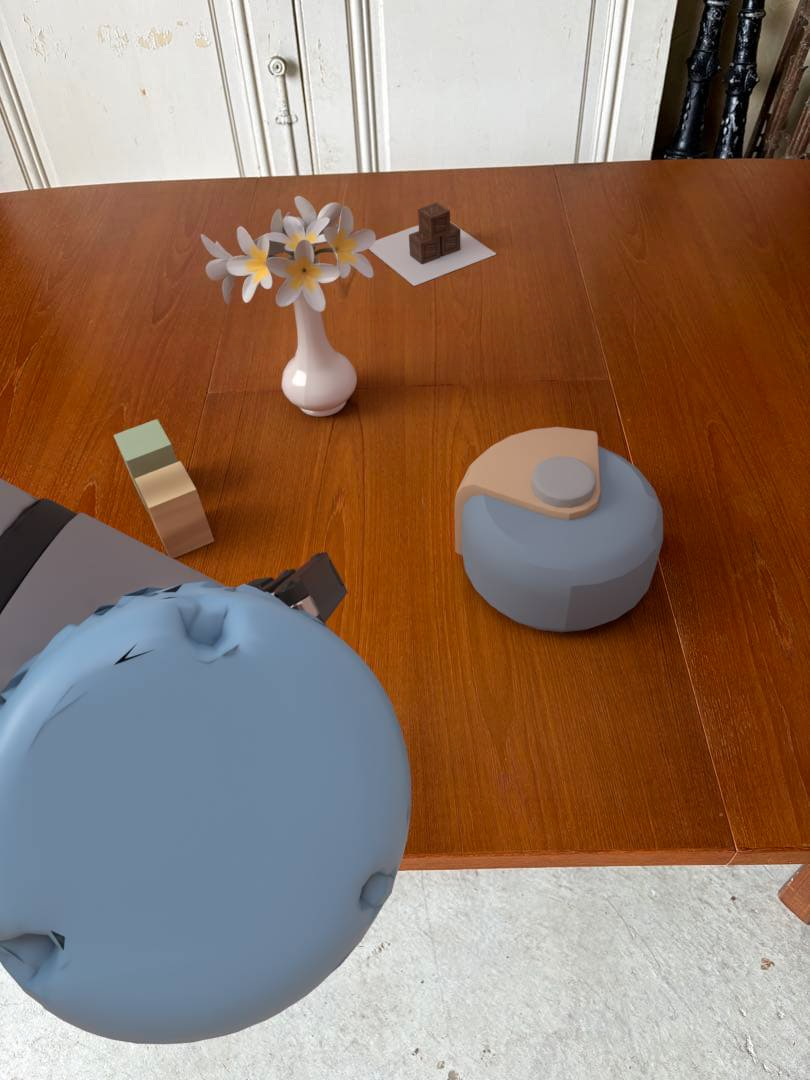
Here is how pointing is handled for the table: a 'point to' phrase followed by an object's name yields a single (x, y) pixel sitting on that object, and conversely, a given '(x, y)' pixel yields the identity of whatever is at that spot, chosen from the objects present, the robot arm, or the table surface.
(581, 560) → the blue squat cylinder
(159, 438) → the sage block
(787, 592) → the table surface
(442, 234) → the stack of crates
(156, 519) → the maple block
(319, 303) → the flower vase
